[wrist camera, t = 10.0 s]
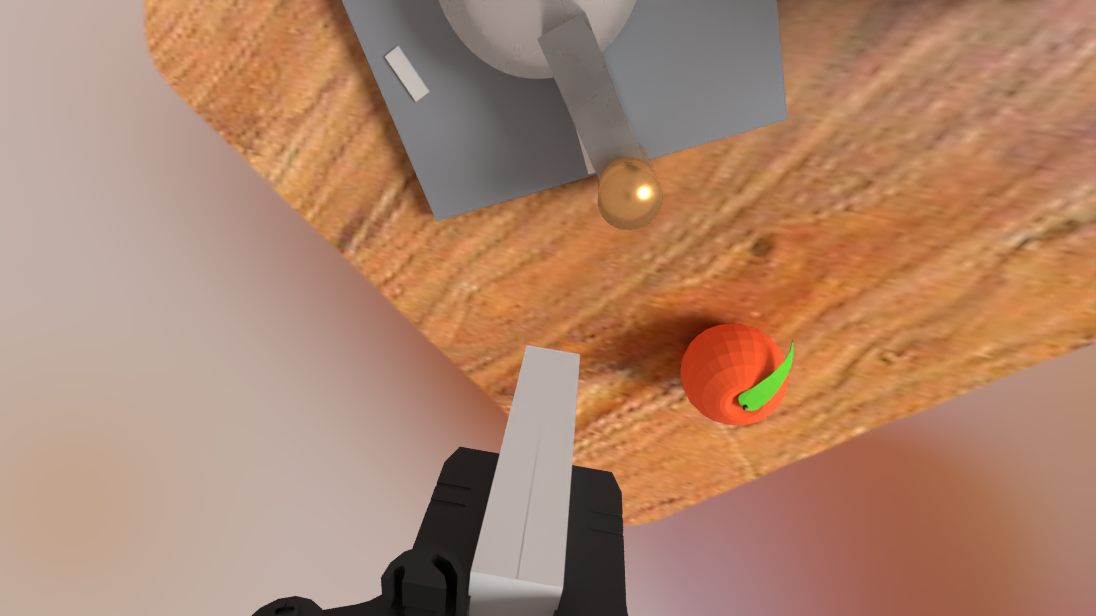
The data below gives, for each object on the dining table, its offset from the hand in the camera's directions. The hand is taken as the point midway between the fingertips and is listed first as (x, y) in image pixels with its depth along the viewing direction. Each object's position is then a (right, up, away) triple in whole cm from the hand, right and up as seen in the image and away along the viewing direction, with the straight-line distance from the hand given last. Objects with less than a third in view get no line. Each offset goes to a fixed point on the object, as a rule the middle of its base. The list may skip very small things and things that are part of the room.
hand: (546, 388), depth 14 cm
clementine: (+13, 0, +23) cm, 26 cm away
